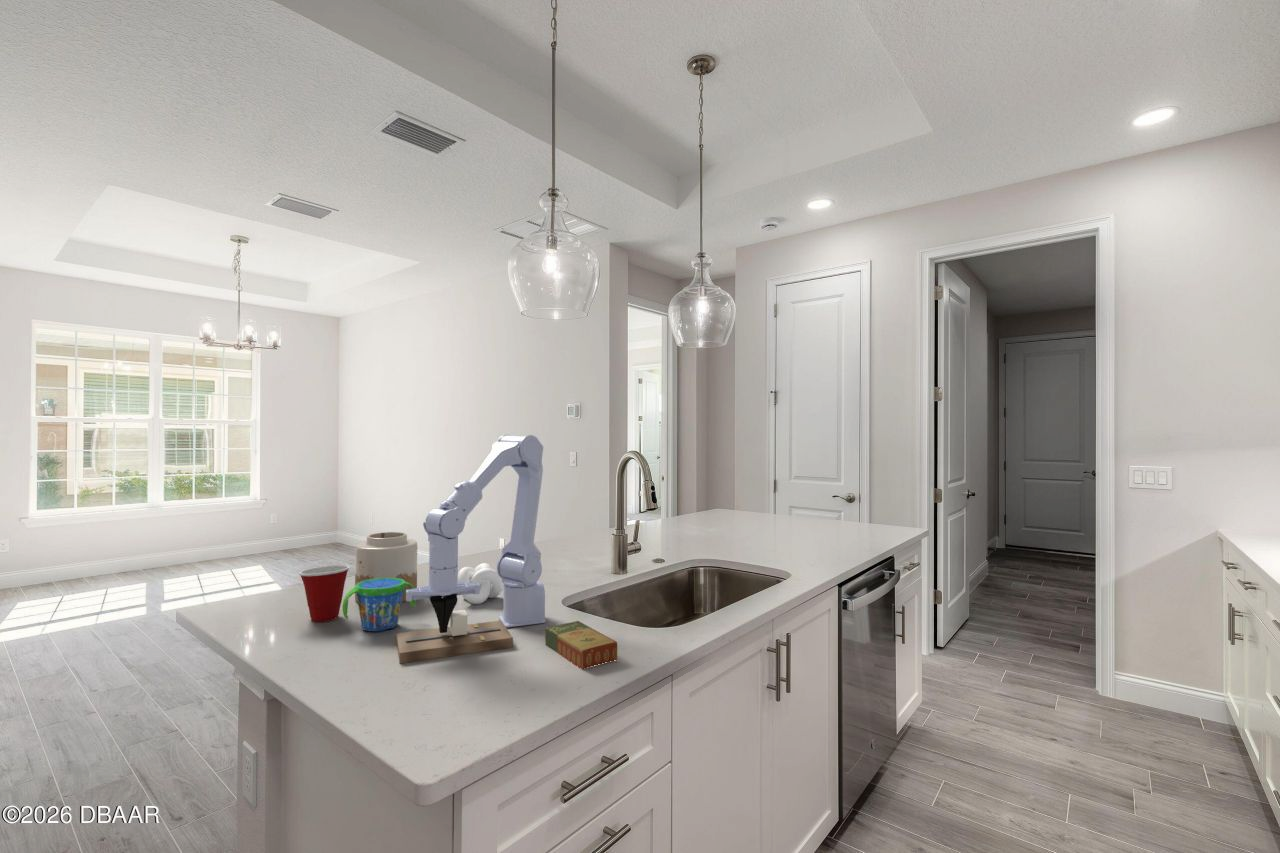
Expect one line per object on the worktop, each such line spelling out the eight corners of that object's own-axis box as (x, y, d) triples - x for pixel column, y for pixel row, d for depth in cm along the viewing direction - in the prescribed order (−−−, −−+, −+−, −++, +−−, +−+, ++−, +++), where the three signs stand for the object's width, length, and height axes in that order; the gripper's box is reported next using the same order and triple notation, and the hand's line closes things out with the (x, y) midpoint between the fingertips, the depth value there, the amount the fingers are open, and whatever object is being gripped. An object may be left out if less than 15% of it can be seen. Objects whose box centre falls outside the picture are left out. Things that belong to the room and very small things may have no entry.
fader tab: (464, 628, 130) (464, 609, 130) (467, 634, 126) (467, 615, 126) (449, 630, 128) (450, 611, 128) (452, 636, 125) (452, 616, 125)
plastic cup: (334, 608, 151) (334, 560, 151) (358, 616, 145) (359, 566, 145) (289, 619, 142) (289, 569, 142) (313, 628, 136) (314, 575, 136)
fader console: (501, 629, 137) (501, 619, 137) (512, 647, 126) (512, 636, 126) (396, 642, 128) (396, 631, 128) (399, 663, 117) (399, 651, 117)
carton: (581, 672, 115) (581, 649, 115) (544, 646, 128) (544, 626, 128) (618, 662, 119) (618, 640, 119) (578, 638, 133) (578, 619, 133)
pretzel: (508, 593, 166) (508, 561, 166) (498, 607, 154) (498, 571, 154) (466, 593, 166) (467, 561, 166) (453, 606, 154) (454, 571, 154)
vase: (403, 606, 153) (403, 540, 153) (343, 605, 154) (344, 539, 154) (425, 590, 169) (426, 530, 169) (371, 589, 169) (371, 529, 169)
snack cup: (410, 615, 146) (410, 573, 146) (421, 627, 137) (421, 583, 137) (339, 626, 138) (339, 582, 138) (345, 640, 129) (346, 593, 129)
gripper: (407, 573, 119) (407, 642, 119) (482, 567, 125) (481, 632, 125) (405, 566, 126) (405, 631, 126) (476, 560, 132) (476, 622, 132)
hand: (443, 631), depth 126 cm, fingers closed
